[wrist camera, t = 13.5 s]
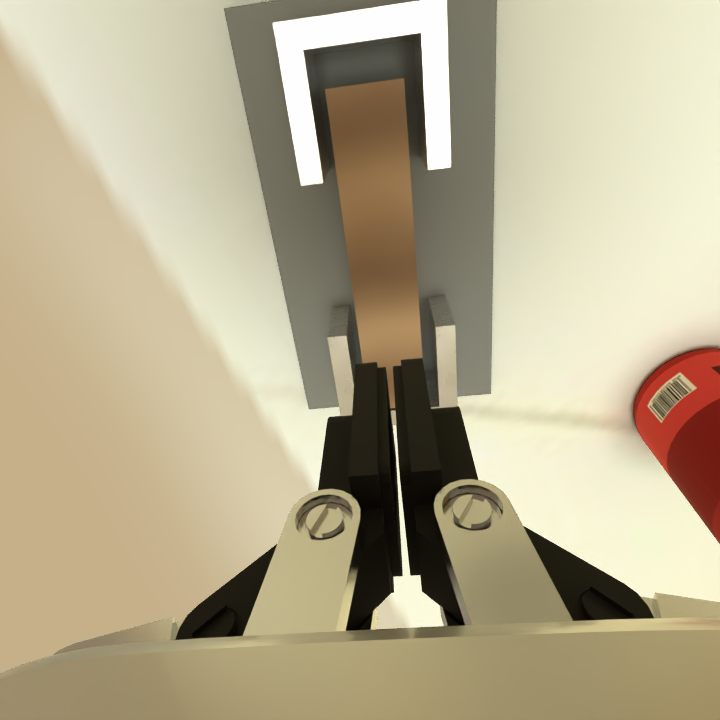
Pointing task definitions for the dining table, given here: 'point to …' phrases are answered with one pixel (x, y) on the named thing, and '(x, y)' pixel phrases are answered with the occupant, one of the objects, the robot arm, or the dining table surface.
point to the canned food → (686, 427)
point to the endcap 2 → (437, 379)
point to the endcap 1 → (359, 31)
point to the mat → (429, 187)
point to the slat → (378, 218)
